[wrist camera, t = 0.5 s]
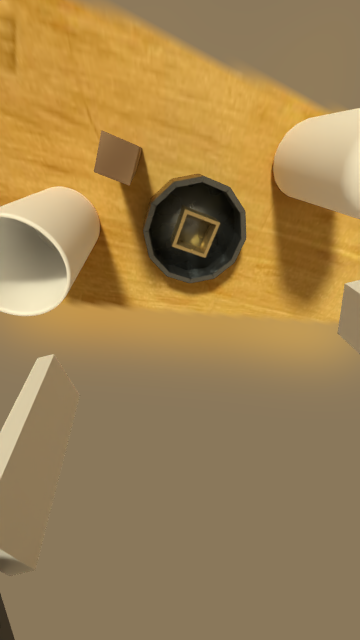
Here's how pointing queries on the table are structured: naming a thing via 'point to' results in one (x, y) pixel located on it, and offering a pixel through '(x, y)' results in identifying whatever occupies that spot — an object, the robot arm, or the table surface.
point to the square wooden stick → (117, 158)
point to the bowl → (194, 228)
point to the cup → (43, 248)
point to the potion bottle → (322, 162)
